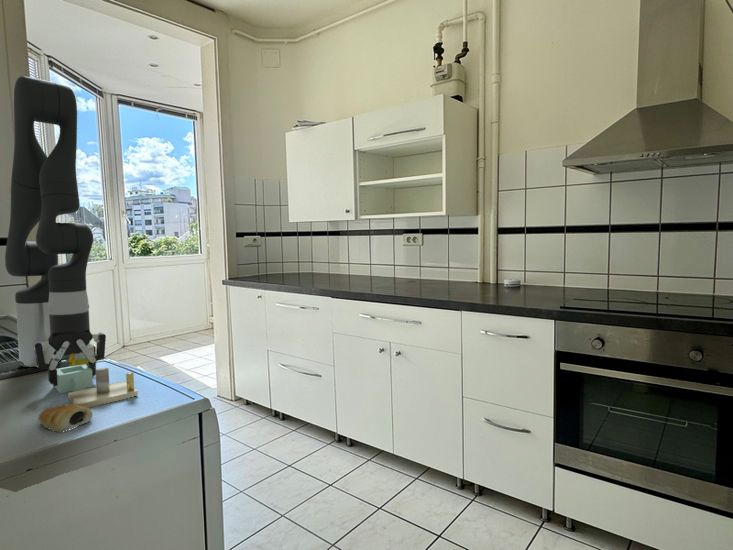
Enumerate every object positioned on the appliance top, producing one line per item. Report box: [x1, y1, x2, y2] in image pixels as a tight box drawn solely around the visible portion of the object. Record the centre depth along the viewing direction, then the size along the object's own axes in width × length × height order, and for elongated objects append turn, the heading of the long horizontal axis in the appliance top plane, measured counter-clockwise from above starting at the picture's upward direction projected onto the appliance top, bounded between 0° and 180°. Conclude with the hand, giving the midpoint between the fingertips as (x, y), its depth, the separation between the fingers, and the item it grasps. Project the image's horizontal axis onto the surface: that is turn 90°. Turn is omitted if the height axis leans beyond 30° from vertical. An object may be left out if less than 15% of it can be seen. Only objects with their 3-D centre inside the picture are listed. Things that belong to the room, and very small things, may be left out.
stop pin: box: [125, 372, 135, 391], centre depth 95 cm, size 1×1×4 cm
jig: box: [67, 367, 138, 409], centre depth 94 cm, size 9×11×6 cm
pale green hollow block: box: [53, 364, 94, 394], centre depth 99 cm, size 10×6×4 cm, turn 45°
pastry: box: [38, 403, 93, 433], centre depth 81 cm, size 9×7×4 cm
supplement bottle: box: [68, 341, 95, 367], centre depth 110 cm, size 5×5×10 cm
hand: (73, 381), depth 100 cm, fingers closed on pale green hollow block, 6 cm apart
